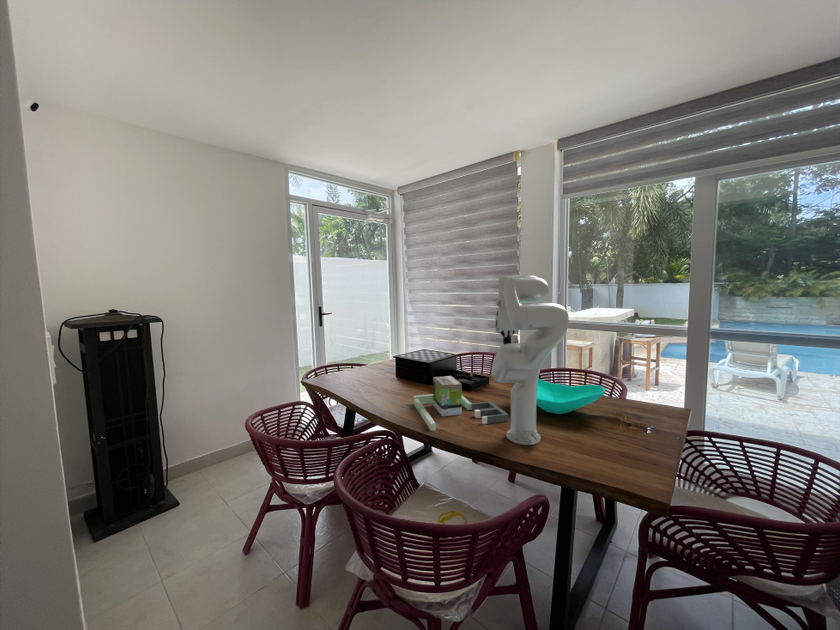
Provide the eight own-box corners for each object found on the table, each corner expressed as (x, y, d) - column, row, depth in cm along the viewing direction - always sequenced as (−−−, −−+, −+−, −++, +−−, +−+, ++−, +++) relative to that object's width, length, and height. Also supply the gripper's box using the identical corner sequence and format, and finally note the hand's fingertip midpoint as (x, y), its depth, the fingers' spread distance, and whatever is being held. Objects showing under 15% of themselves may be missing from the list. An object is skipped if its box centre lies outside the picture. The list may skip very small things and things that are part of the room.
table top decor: (607, 409, 156) (607, 381, 155) (601, 431, 133) (602, 399, 132) (522, 395, 178) (522, 371, 177) (504, 412, 155) (504, 384, 154)
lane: (487, 423, 143) (487, 414, 142) (431, 430, 137) (430, 421, 136) (459, 398, 175) (459, 391, 174) (413, 403, 169) (413, 396, 168)
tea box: (462, 414, 153) (462, 383, 152) (441, 417, 151) (441, 385, 150) (452, 403, 168) (451, 374, 167) (432, 405, 166) (432, 376, 164)
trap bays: (508, 421, 145) (508, 414, 145) (487, 423, 143) (487, 416, 143) (491, 407, 162) (491, 401, 161) (471, 409, 159) (471, 403, 159)
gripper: (495, 305, 142) (495, 348, 143) (527, 304, 145) (526, 346, 147) (487, 304, 149) (487, 345, 151) (518, 303, 152) (517, 343, 154)
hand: (507, 345), depth 149 cm, fingers closed
